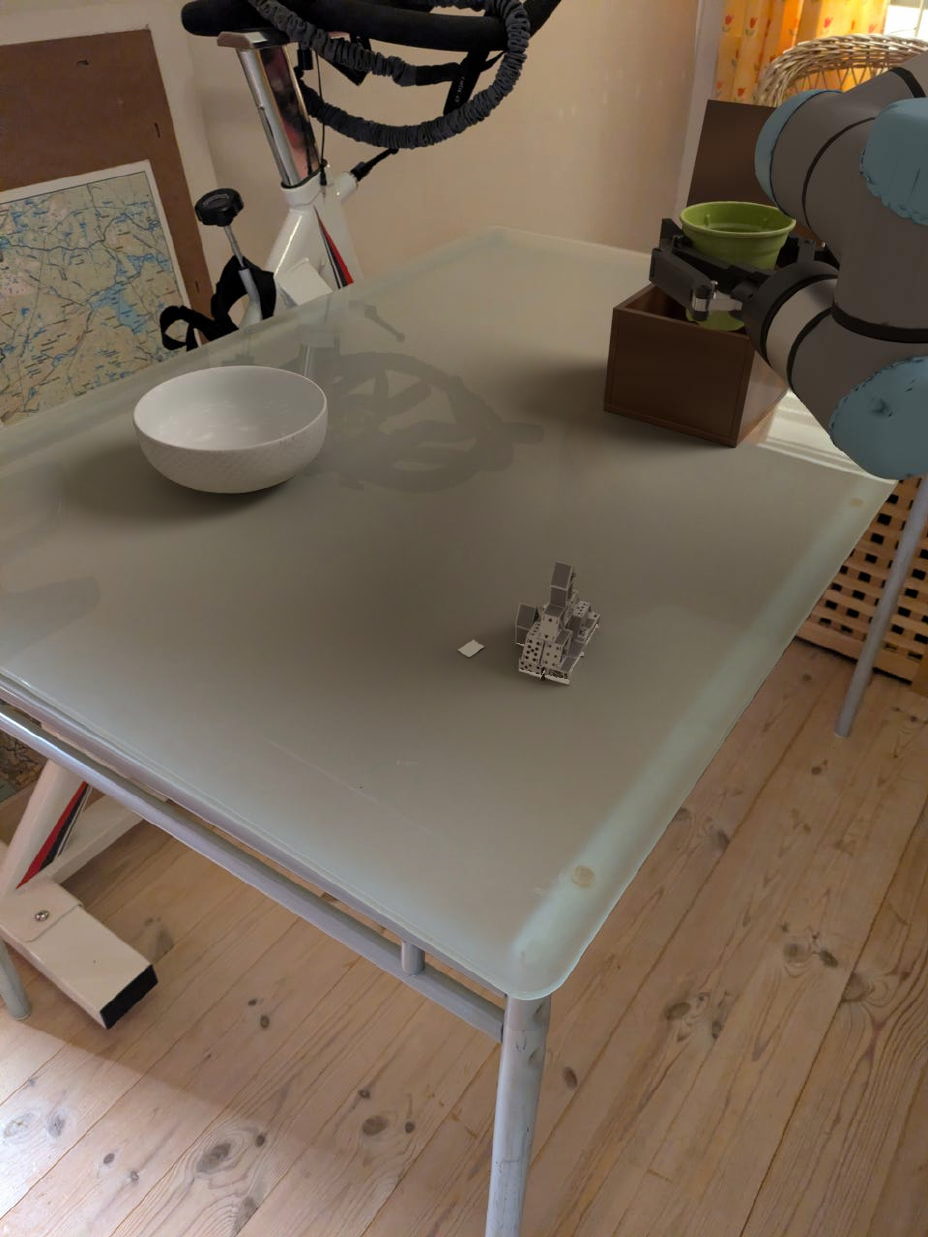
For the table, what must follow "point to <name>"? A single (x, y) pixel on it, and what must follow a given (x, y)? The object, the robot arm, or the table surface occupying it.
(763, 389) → the chest
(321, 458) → the table surface
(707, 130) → the chest lid
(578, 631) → the house of cards
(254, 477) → the cereal bowl
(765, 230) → the plant pot
